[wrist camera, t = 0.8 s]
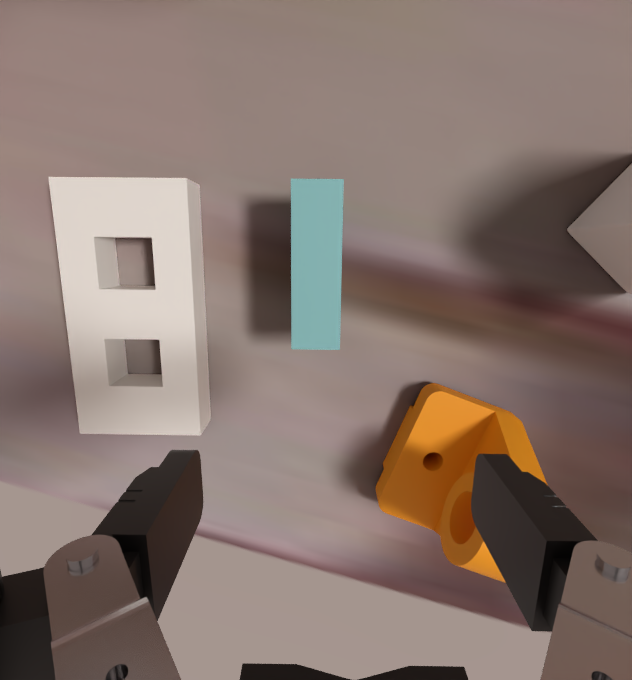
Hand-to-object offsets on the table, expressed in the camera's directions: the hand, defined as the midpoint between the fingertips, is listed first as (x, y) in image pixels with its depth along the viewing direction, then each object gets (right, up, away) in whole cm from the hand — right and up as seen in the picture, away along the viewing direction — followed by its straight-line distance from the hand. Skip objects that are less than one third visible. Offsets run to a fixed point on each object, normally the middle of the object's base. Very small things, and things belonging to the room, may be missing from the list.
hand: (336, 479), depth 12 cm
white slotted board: (-14, +6, +20) cm, 25 cm away
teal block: (-1, +10, +19) cm, 21 cm away
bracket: (+9, -5, +22) cm, 25 cm away
